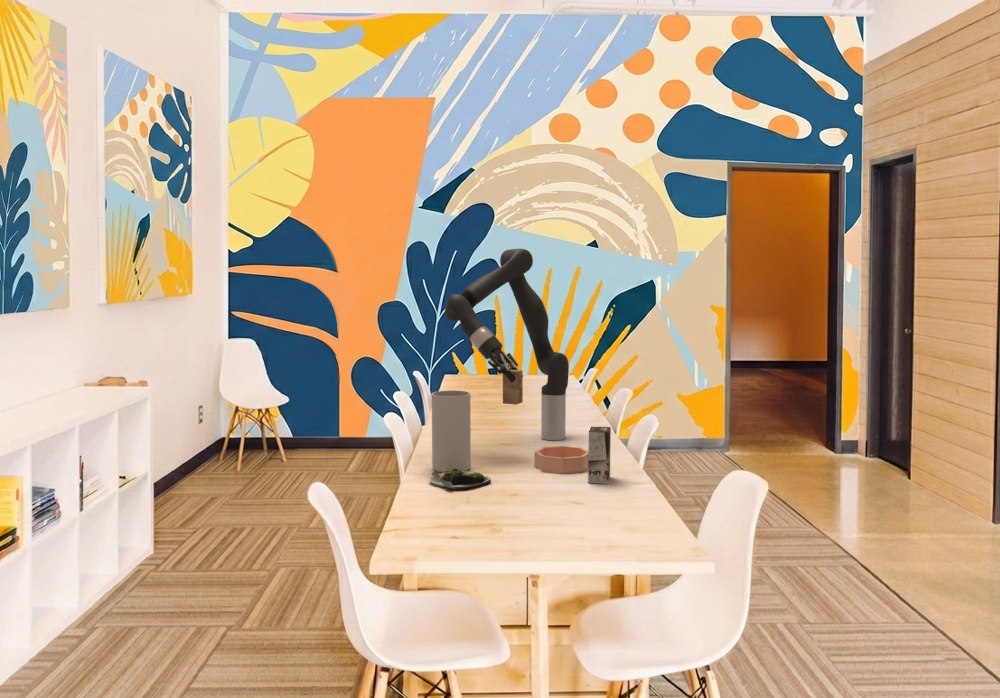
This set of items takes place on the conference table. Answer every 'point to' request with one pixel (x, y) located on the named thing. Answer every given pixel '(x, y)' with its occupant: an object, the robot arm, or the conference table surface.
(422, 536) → the conference table surface
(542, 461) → the bowl
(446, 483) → the salad plate
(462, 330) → the robot arm
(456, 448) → the cylinder vase
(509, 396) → the walnut block
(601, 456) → the coffee box
